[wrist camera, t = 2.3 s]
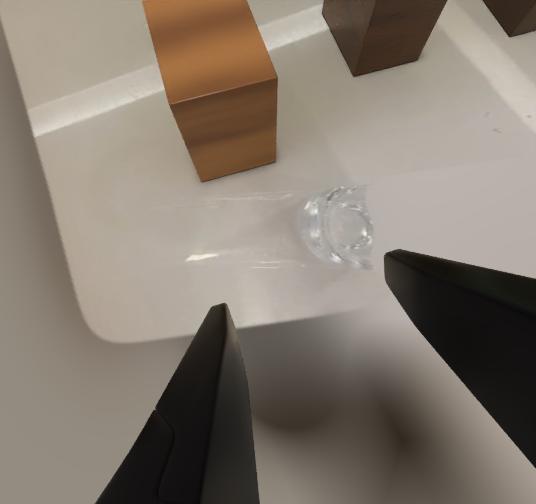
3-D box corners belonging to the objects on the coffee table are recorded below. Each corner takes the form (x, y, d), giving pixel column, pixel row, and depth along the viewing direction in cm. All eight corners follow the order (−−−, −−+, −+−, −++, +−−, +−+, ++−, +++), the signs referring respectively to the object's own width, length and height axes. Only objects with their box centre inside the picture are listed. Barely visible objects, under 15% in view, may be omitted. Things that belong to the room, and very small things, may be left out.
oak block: (275, 161, 25) (278, 77, 17) (201, 182, 24) (168, 104, 16) (247, 84, 27) (238, -21, 19) (179, 101, 26) (141, 0, 19)
